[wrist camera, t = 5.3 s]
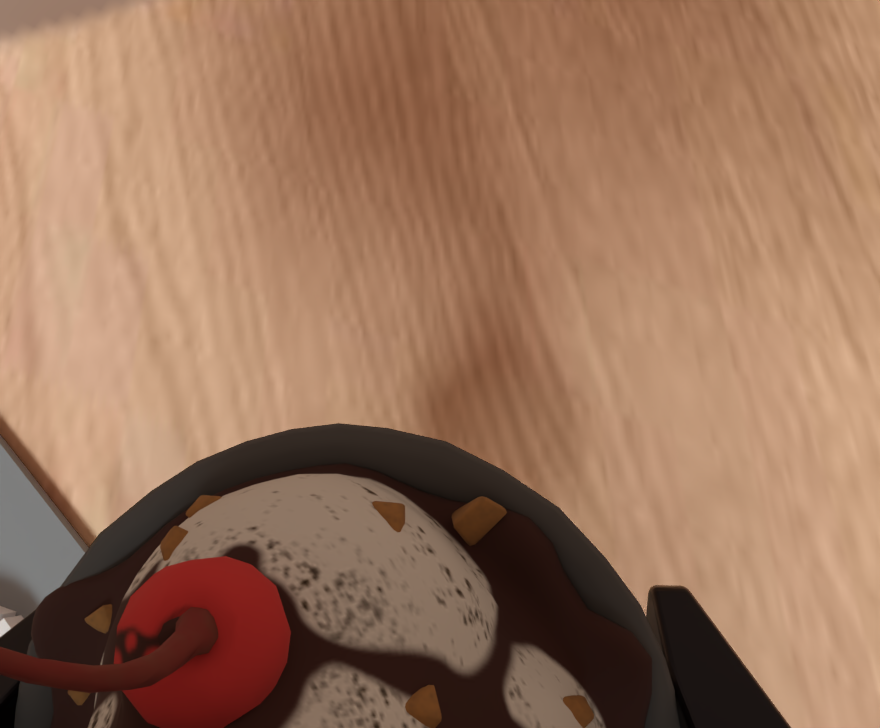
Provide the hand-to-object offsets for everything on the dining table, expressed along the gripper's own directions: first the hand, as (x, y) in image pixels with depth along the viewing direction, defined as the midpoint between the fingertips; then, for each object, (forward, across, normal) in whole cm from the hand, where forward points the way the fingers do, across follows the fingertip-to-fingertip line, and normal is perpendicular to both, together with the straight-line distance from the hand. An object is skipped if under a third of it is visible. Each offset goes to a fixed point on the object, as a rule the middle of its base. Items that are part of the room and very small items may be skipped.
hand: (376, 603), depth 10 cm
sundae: (+5, 0, +7) cm, 8 cm away
